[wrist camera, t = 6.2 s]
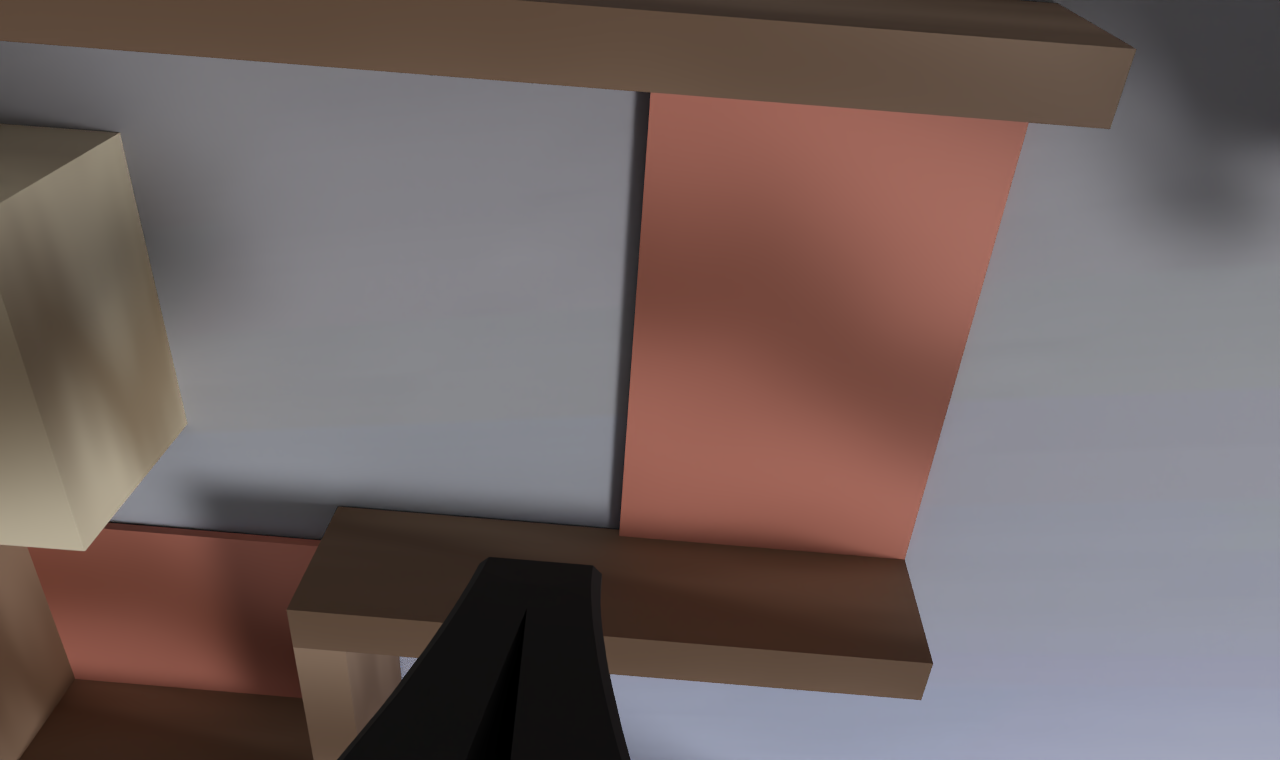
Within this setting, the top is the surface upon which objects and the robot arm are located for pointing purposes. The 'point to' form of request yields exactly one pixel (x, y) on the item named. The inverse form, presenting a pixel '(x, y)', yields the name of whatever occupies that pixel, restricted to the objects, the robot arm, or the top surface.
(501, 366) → the top surface
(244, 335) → the top surface
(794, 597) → the channel
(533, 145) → the top surface
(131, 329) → the birch block
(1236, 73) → the top surface
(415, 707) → the robot arm
